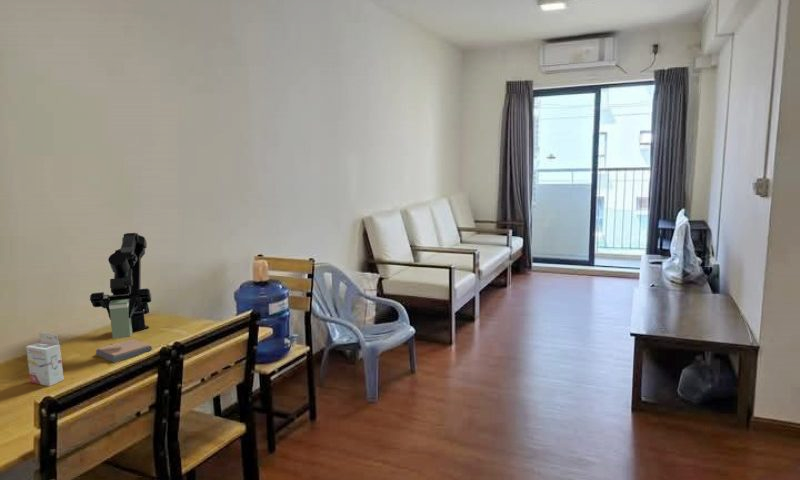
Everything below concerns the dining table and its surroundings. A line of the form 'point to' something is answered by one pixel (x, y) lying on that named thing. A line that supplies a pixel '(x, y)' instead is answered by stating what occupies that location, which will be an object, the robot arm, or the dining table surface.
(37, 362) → the ink cartridge box
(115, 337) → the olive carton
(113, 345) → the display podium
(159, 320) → the dining table surface
